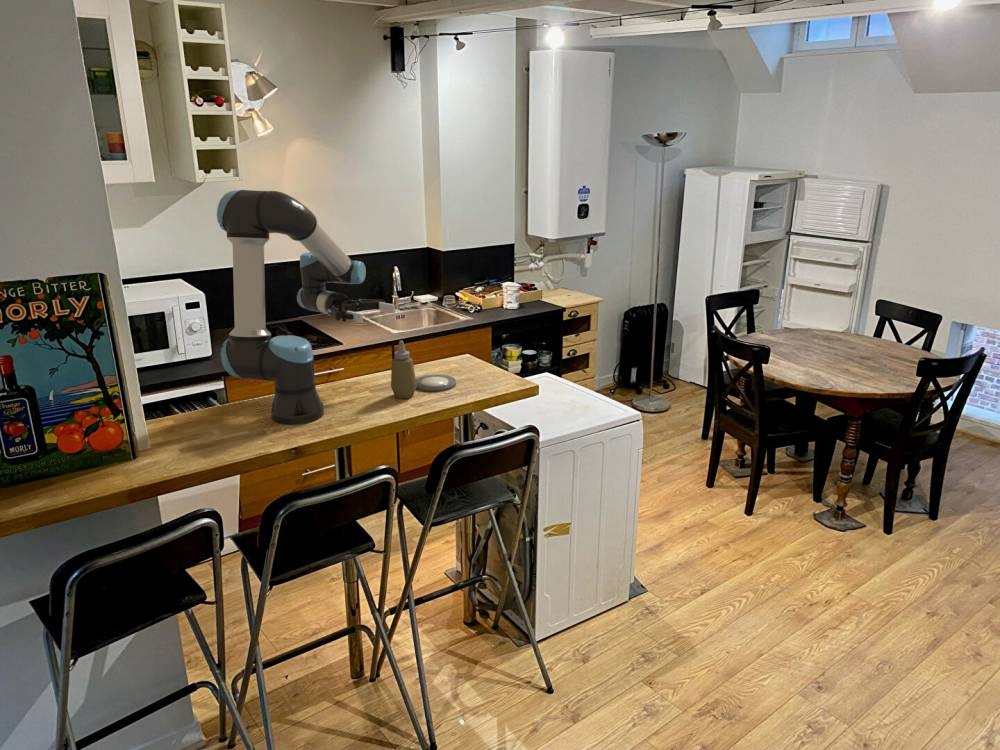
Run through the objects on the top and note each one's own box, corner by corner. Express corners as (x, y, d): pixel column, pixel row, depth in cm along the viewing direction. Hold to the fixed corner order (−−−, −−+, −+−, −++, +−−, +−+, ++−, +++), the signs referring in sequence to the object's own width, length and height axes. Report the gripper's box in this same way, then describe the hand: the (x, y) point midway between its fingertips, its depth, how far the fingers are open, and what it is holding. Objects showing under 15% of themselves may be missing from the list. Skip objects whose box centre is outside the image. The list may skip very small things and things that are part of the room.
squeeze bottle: (418, 391, 242) (416, 337, 236) (415, 400, 235) (412, 344, 229) (393, 391, 242) (390, 337, 237) (389, 400, 235) (385, 345, 229)
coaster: (405, 388, 245) (405, 385, 245) (426, 375, 257) (426, 372, 257) (444, 394, 240) (443, 390, 239) (463, 380, 252) (463, 377, 251)
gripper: (363, 307, 259) (407, 316, 247) (304, 323, 241) (348, 334, 228) (361, 285, 257) (406, 294, 244) (301, 300, 238) (346, 310, 226)
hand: (378, 313), depth 236 cm, fingers open, 13 cm apart
